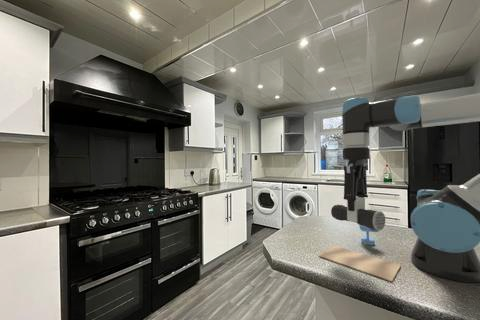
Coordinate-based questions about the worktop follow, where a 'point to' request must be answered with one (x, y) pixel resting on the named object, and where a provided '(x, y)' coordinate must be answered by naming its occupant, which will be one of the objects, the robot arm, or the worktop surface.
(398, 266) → the mat
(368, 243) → the spotlight
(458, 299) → the worktop surface
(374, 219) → the flashlight
